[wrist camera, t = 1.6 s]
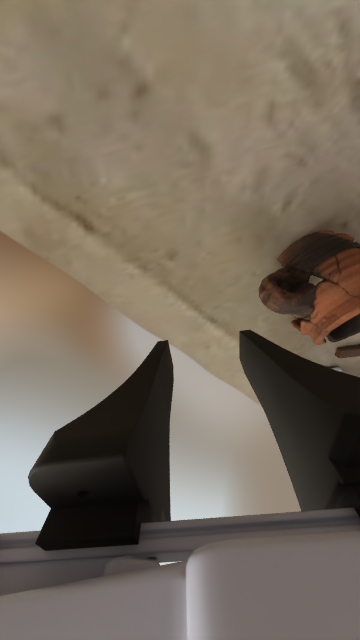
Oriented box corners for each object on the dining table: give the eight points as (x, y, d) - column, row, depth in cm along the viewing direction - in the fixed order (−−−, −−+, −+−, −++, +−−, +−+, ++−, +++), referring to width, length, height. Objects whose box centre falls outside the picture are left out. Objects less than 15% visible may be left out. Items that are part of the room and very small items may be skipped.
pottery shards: (363, 217, 17) (466, 270, 13) (304, 291, 25) (355, 342, 20) (252, 227, 15) (328, 298, 10) (224, 306, 22) (260, 368, 17)
